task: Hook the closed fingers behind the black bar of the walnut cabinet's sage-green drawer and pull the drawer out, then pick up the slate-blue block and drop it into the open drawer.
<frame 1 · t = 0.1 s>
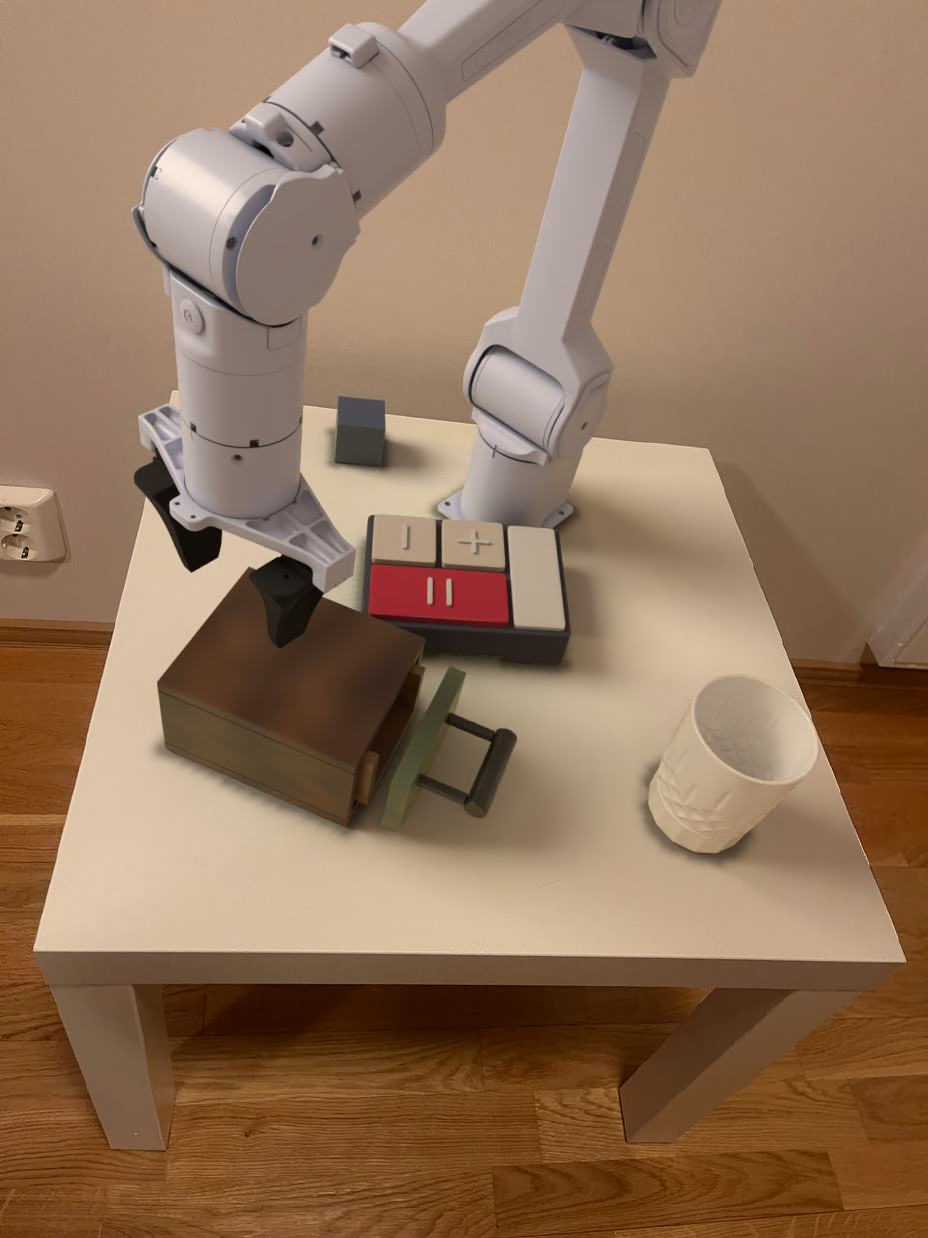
hand: (244, 598, 53), 10 cm above the table, tool pointing down, fingers open, 7 cm apart
cabinet: (294, 724, 60), on the table
block: (357, 449, 80), on the table
white cup: (693, 810, 62), on the table
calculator: (459, 603, 70), on the table, touching arm
drawer: (382, 729, 57), point 4 cm above the table, slide at 2.0 cm
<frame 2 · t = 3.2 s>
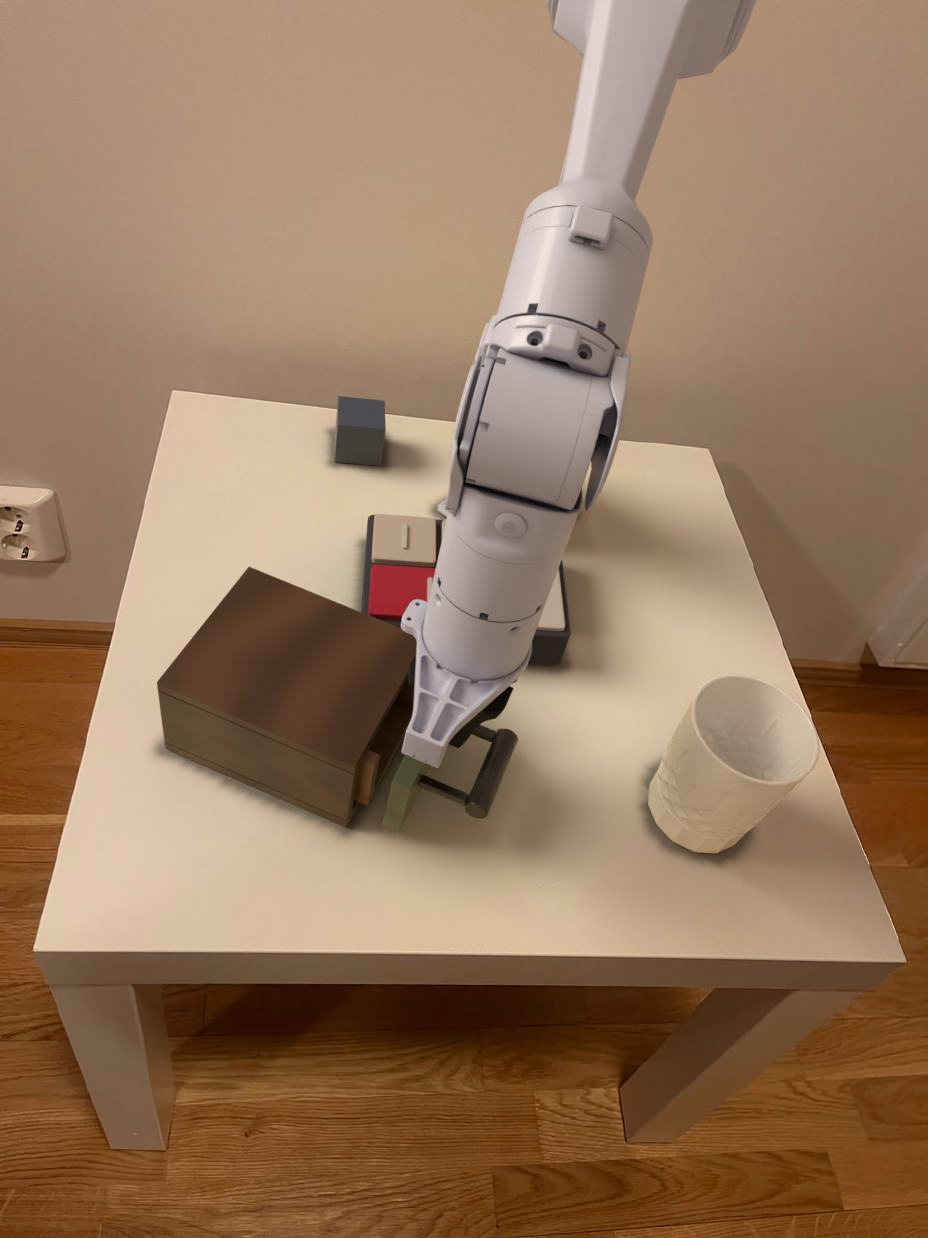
hand: (447, 734, 55), 6 cm above the table, tool pointing down, fingers closed, pressing on drawer
drawer: (383, 730, 57), point 4 cm above the table, slide at 2.0 cm, touching gripper
everything else where it was.
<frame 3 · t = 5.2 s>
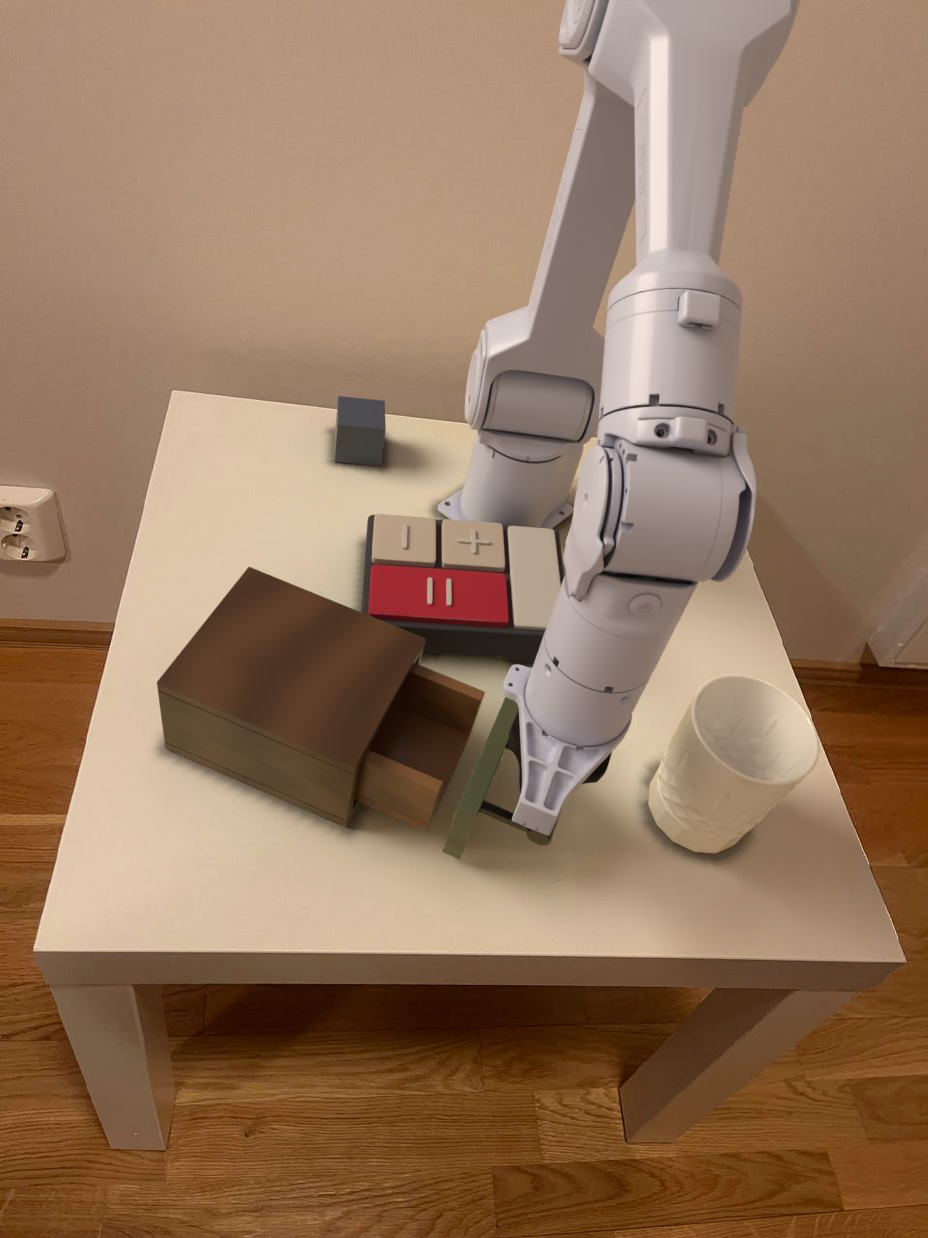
hand: (537, 793, 55), 4 cm above the table, tool pointing down, fingers closed, pressing on drawer
drawer: (442, 754, 57), point 4 cm above the table, slide at 6.0 cm, touching gripper
everything else where it was.
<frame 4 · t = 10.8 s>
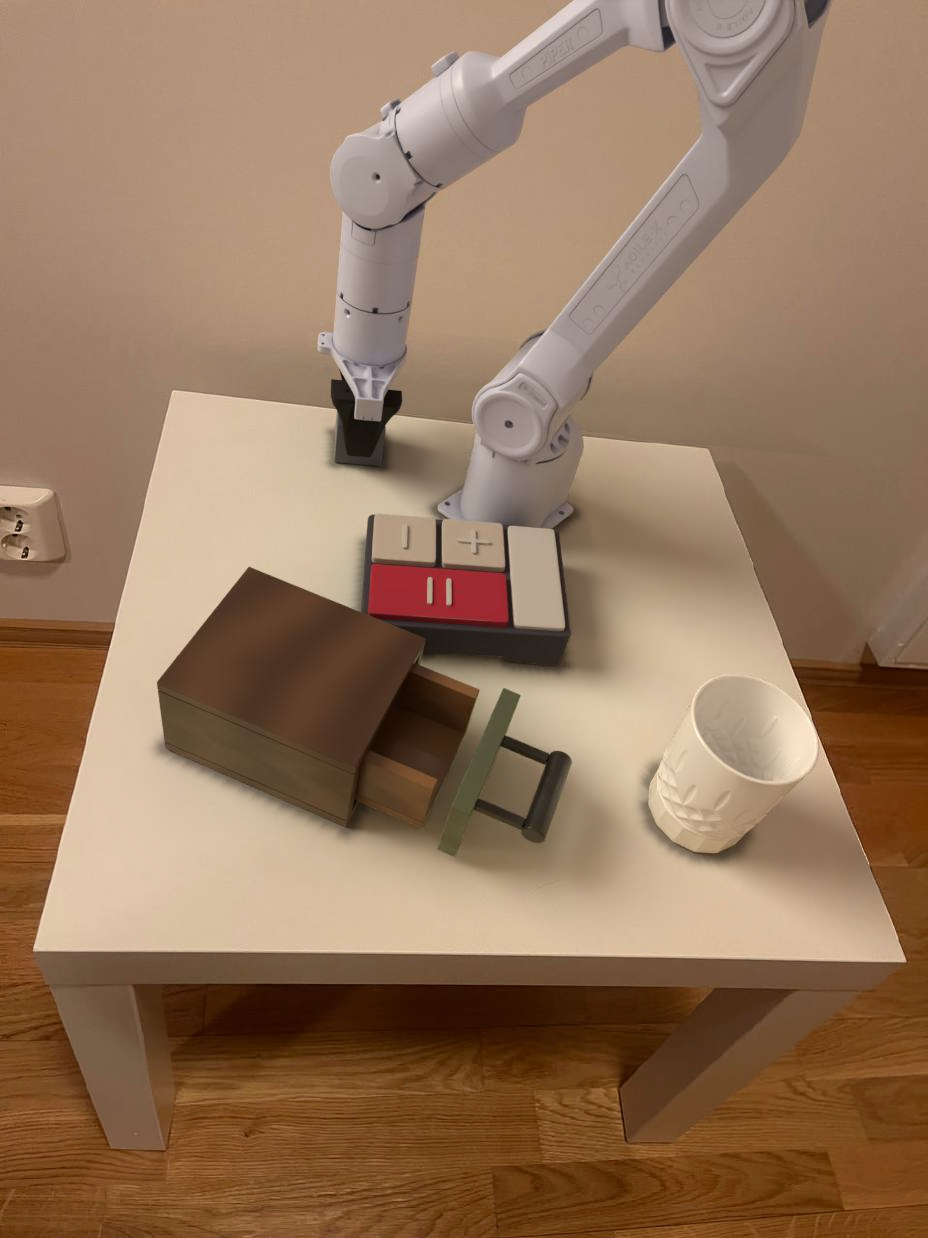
hand: (358, 436, 79), 1 cm above the table, tool pointing down, fingers closed on block, 4 cm apart
block: (357, 449, 80), on the table, touching gripper
drawer: (436, 752, 57), point 4 cm above the table, slide at 5.7 cm
everything else where it was.
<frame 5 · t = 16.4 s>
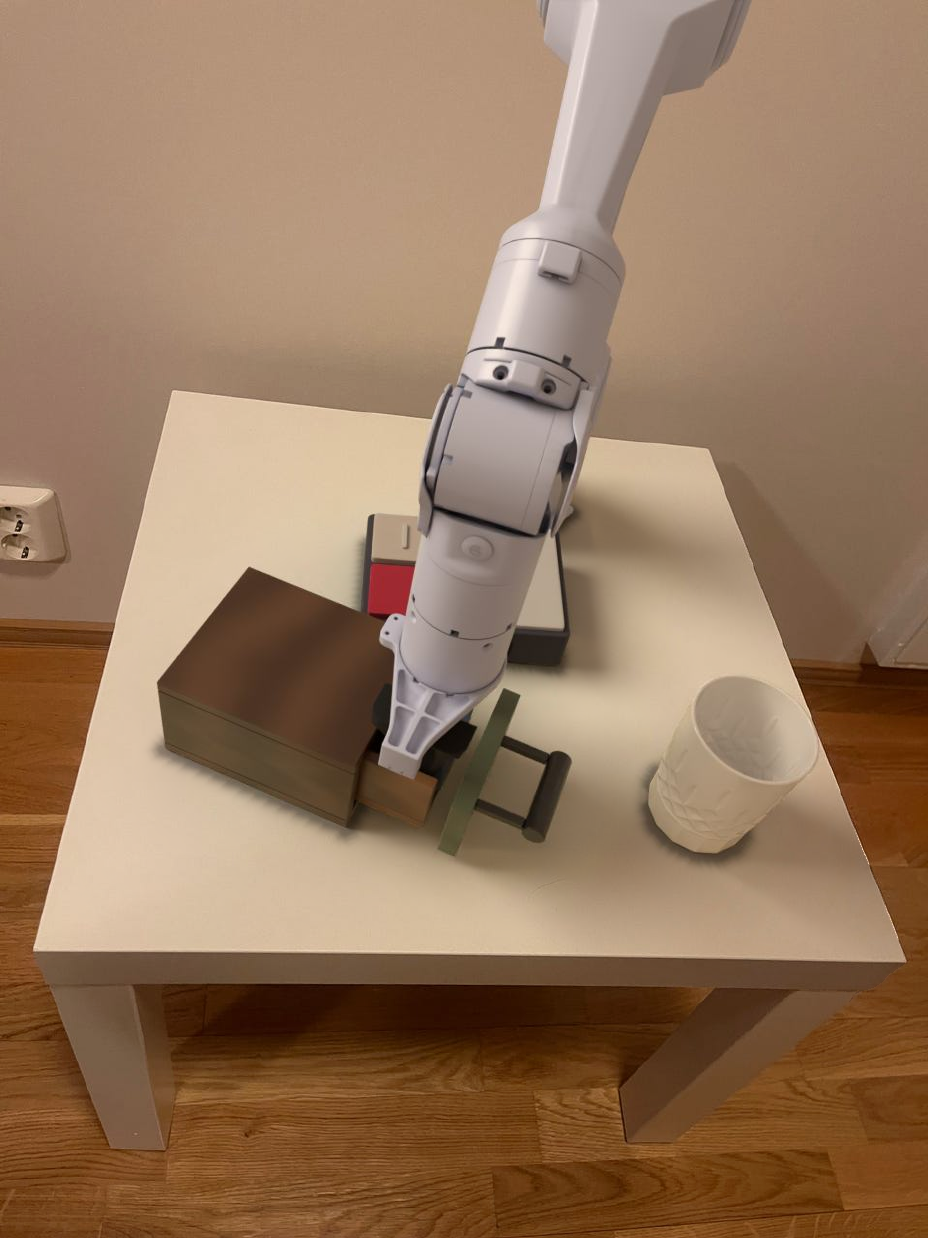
hand: (427, 742, 56), 4 cm above the table, tool pointing down, fingers closed on block, 4 cm apart
block: (422, 754, 57), point 3 cm above the table, touching gripper
drawer: (436, 752, 57), point 4 cm above the table, slide at 5.7 cm, touching gripper
everything else where it was.
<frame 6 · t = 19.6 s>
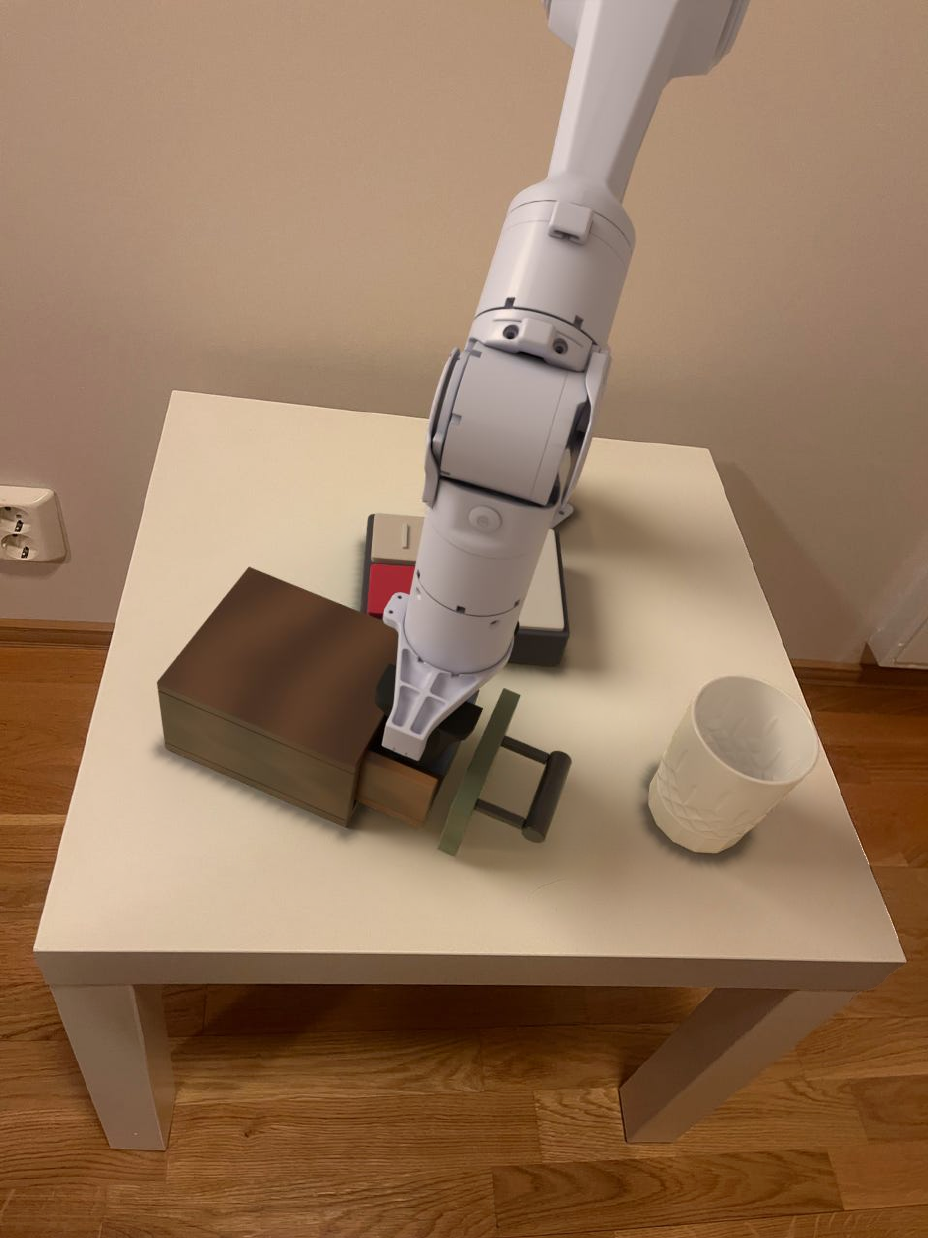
hand: (432, 726, 55), 6 cm above the table, tool pointing down, fingers closed on block, 4 cm apart
block: (426, 738, 56), point 5 cm above the table, touching gripper
drawer: (436, 752, 57), point 4 cm above the table, slide at 5.7 cm
everything else where it was.
when the fingers open (7 cm above the table, at t = 28.6 s): block drops 3 cm, resting on drawer.
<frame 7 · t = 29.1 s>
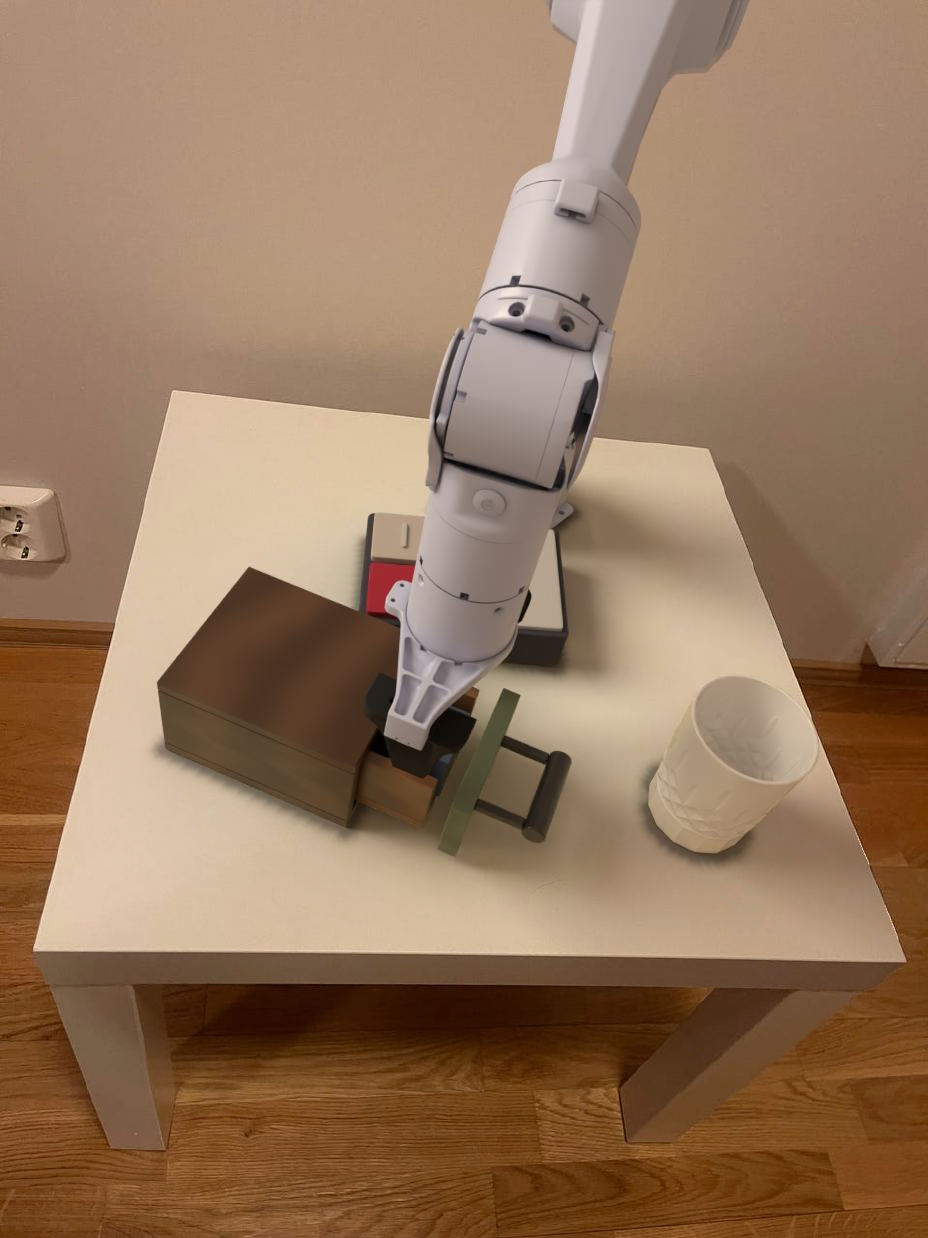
hand: (434, 717, 54), 7 cm above the table, tool pointing down, fingers open, 7 cm apart
block: (421, 760, 58), point 2 cm above the table, touching drawer
drawer: (436, 752, 57), point 4 cm above the table, slide at 5.7 cm, touching block
everything else where it was.
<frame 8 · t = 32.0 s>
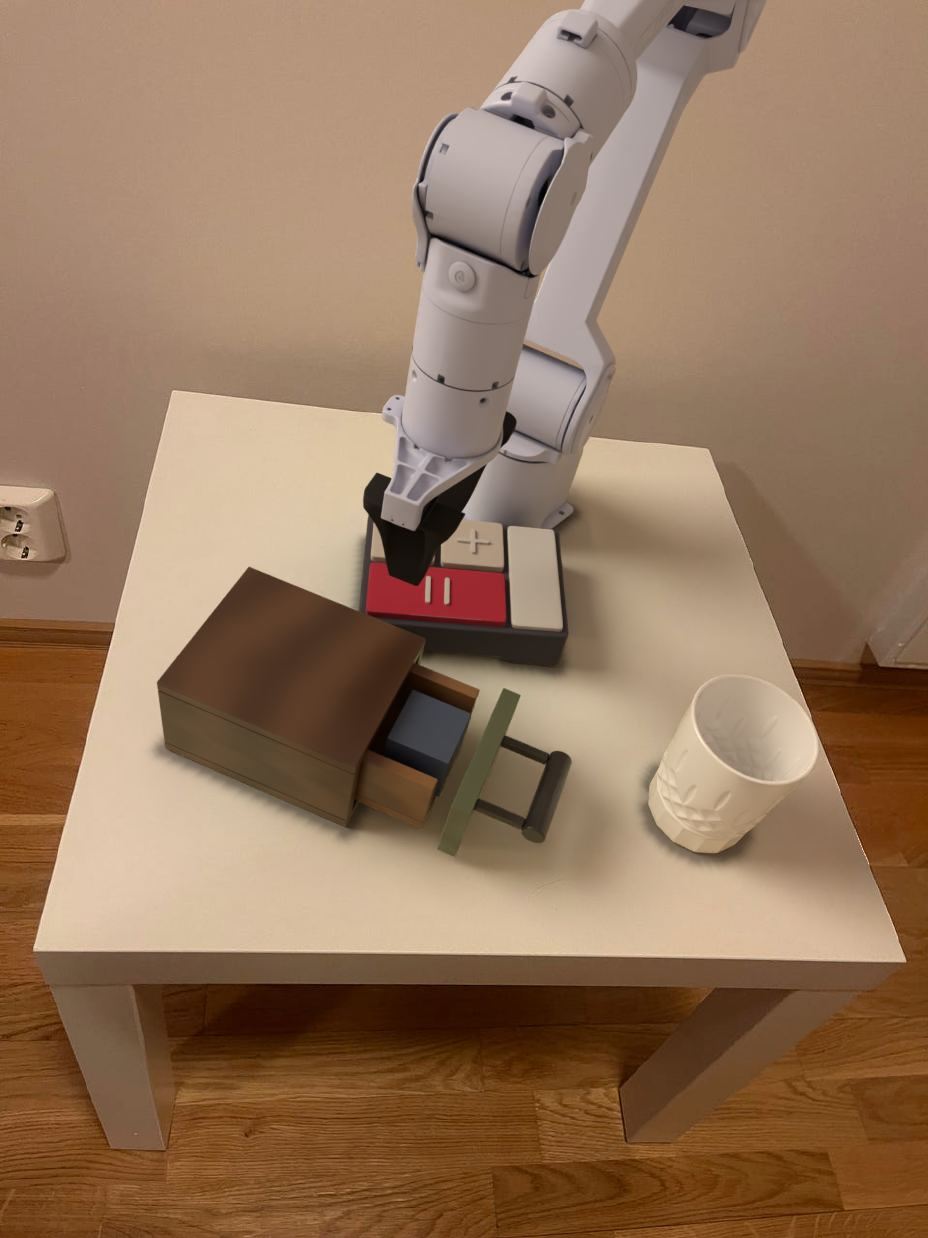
hand: (427, 539, 59), 10 cm above the table, tool pointing down, fingers open, 7 cm apart
nothing on the table moved.
at the end: drawer slide at 5.7 cm; block inside the target area in the drawer (0.2 cm from its centre), point 2.0 cm above the cabinet's base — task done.
